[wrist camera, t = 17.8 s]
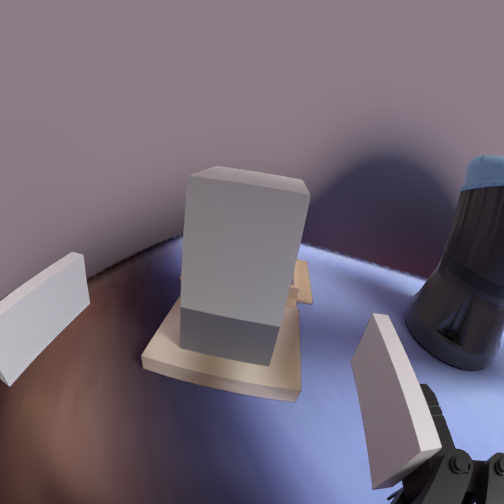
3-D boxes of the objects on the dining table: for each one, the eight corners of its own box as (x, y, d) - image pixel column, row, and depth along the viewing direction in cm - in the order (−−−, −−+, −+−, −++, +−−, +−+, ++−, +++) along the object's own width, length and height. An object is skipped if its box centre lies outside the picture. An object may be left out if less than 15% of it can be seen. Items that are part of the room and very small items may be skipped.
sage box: (273, 315, 26) (302, 180, 22) (269, 366, 20) (310, 195, 15) (202, 302, 27) (216, 166, 22) (180, 348, 20) (188, 175, 15)
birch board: (295, 320, 29) (298, 309, 28) (295, 402, 19) (301, 390, 18) (185, 299, 29) (185, 287, 29) (143, 368, 19) (141, 355, 19)
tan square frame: (305, 258, 45) (308, 248, 45) (313, 313, 30) (317, 300, 30) (209, 240, 46) (209, 230, 46) (173, 286, 31) (173, 273, 31)
